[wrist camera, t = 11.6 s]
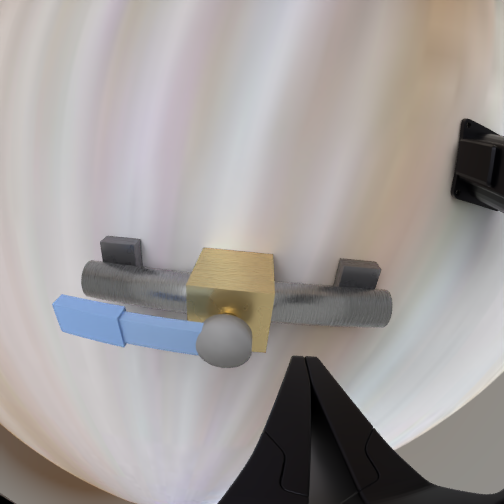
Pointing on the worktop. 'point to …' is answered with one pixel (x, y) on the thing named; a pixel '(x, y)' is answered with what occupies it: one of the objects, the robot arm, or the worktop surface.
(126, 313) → the valve lever
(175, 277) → the pipe run
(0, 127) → the worktop surface
